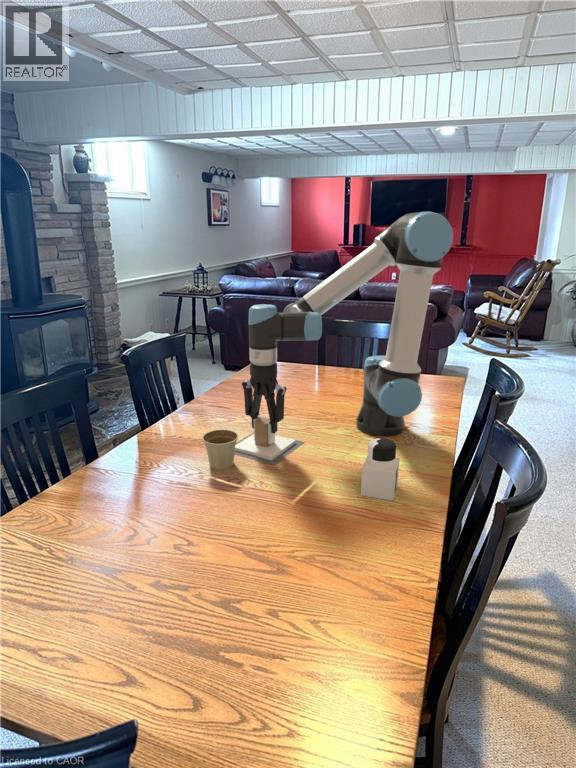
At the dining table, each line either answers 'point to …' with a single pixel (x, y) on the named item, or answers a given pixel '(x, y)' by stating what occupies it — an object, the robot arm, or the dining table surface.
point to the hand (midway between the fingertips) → (264, 440)
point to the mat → (272, 462)
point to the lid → (264, 442)
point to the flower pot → (220, 448)
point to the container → (380, 470)
